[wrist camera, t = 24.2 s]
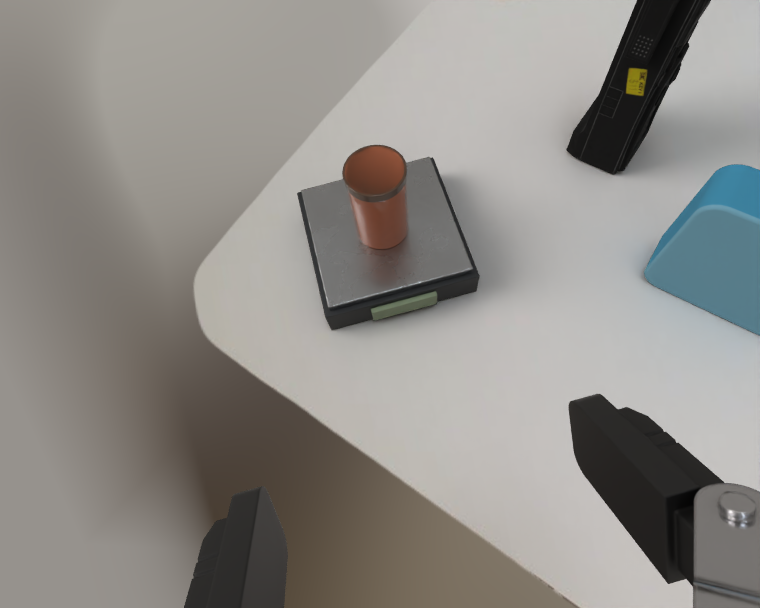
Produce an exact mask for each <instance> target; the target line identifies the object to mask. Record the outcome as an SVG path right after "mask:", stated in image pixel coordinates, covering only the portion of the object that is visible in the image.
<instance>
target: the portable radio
mask: <svg viewBox="0 0 760 608" xmlns="http://www.w3.org/2000/svg"><path fill="white" fill-rule="evenodd" d="M710 1H711V0H637V2H636V4H635V7H634V9H633V12H632V14H631V17H630V19H629V22H628V24H627V27H626V29H625V32H624V34H623V37H622V39H621V41H620V44H619V46H618V49H617V51H616V54H615V56H614V59H613V61H612V64H611V66H610V69H609V71H608V74H607V76H606V78H605V81H604V83H603V86H602V88H601V91H600V93H599V95H598V97H597V98H596V100H595V101H594V102H593V104H592V105H591V107H590V108H589V110H588V111H587V112H586V114H585V115H584V117H583V118H582V120H581V121H580V123H579V124H578V125H577V127H576V128H575V130H574V131H573V134H572V137H571V139H570V142H569V145H568V147H567V151H568V152H569V153H570V154H571V155H572V156H574V157H576V158H578V159H579V160H581V161H584V162H586V163H588V164H590V165H593V166H595V167H597V168H600V169H602V170H604V171H607V172H609V173H611V174H615V173H617V172H618V171H623V170H624V169H625V168H626V166H627V165H628V163H629V162H630V160H631V159H632V157H633V156H634V154H635V152H636V151H637V149H638V148H639V146H640V144H641V143H642V141H643V139H644V138H645V136H646V134H647V133H648V131H649V128H650V126H651V124H652V121H653V119H654V117H655V114H656V112H657V110H658V108H659V106H660V104H661V102H662V100H663V98H664V95H665V93H666V91H667V89H668V87H669V85H670V84H671V83H672V82H673V81H674V80H675V79H676V77H677V75H678V73H679V70H680V66H681V62H682V60H683V58H684V56H685V54H686V52H687V50H688V48H689V43H688V41H689V39H690V37H691V35H692V33H693V31H694V29H695V27H696V25H697V23H698V20H699V18H700V17H701V15H702V14H703V12H704V11H705V9H706V8H707V6H708V5H709V3H710Z"/></svg>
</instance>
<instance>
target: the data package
mask: <svg viewBox="0 0 760 608" xmlns="http://www.w3.org/2000/svg"><path fill="white" fill-rule="evenodd" d="M644 274H645V277H646V279H647V280H648V282H650V283H651V284H652V285H654V286H656V287H658V288H660V289H662V290H664V291H666V292H668V293H670V294H673V295H675V296H677V297H679V298H681V299H683V300H685V301H687V302H690V303H692V304H694V305H696V306H698V307H700V308H702V309H704V310H707V311H709V312H711V313H713V314H715V315H717V316H719V317H721V318H724V319H726V320H728V321H730V322H732V323H734V324H736V325H739V326H741V327H743V328H745V329H747V330H749V331H751V332H753V333H756V334H758V335H760V170H758V169H755V168H753V167H750V166H746V165H738V164H737V165H728V166H725V167H722V168H720V169H719V170H717V171H716V172H715V173H714V174H713V175H712V176H711V178H710V179H709V180H708V181H707V182H706V184H705V185H704V186H703V187H702V189H701V190H700V191H699V192H698V193H697V195H696V196H695V197H694V198H693V199H692V201H691V202H690V203H689V204H688V206H687V207H686V208H685V209H684V210H683V212H682V213H681V214H680V215H679V217H678V218H677V219H676V220H675V221H674V223H673V224H672V225H671V226H670V227H669V229H668V230H667V231H666V232H665V234H664V235H663V236H662V238H661V240H660V242H659V244H658V246H657V248H656V250H655V251H654V253H653V255H652V257H651V259H650V261H649V263H648V265H647V267H646V269H645V272H644Z"/></svg>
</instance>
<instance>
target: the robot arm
mask: <svg viewBox="0 0 760 608" xmlns="http://www.w3.org/2000/svg"><path fill="white" fill-rule="evenodd" d="M569 415H570V424H571V432H572V440H573V449H574V454H575V457H576V460H577V463H578V465H579V467H580V469H581V471H582V473H583V474H584V475H585V477H586V478H587V479H588V481H589V482H590V483H591V485H592V486H593V487H594V488H595V490H596V491H597V492H598V494H599V495H600V496H601V498H602V499H603V500H604V501H605V503H606V504H607V505H608V507H609V508H610V509H611V510H612V512H613V513H614V514H615V516H616V517H617V518H618V520H619V521H620V522H621V523H622V525H623V526H624V527H625V529H626V530H627V531H628V532H629V534H630V535H631V536H632V538H633V539H634V540H635V542H636V543H637V544H638V545H639V547H640V548H641V549H642V551H643V552H644V553H645V555H646V556H647V557H648V558H649V560H650V561H651V562H652V564H653V565H654V566H655V567H656V569H657V570H658V571H659V573H660V574H661V575H662V577H663V578H664V579H665V580H666V582H667V583H668V584H670V583H673V582H677V581H680V580H684V579H687V580H688V581H689V582H690V584H691V585H692V586H693V608H760V492H759V491H757V490H754V489H752V488H749V487H746V486H743V485H738V484H732V483H724V482H723V481H722V480H721V479H720V478H719V477H717V476H716V475H715V474H714V473H713V472H712V471H710V470H709V469H708V468H707V467H706V466H705V465H703V464H702V463H701V462H700V461H699V460H698V459H697V458H695V457H694V456H693V455H692V454H691V453H690V452H688V451H687V450H686V449H685V448H684V447H683V446H682V445H680V444H679V443H676V441H675V439H673V438H672V437H671V436H670V435H669V434H668V433H667V432H664V431H663V429H662V428H661V427H660V426H658V425H657V424H656V423H655V422H654V421H653V420H652V419H650V418H649V417H648V416H646V415H644V414H642V413H639V412H637V411H635V410H632V409H630V408H628V407H625V408H622V409H616V408H615V407H614V406H613V405H612V404H611V403H610V402H609V401H608V400H607V399H606V398H605V397H604V396H602V395H601V394H595V395H592V396H588V397H584V398H581V399H577V400H574V401H571V402H570V403H569ZM287 559H288V552H287V543H286V538H285V534H284V531H283V528H282V526H281V523H280V521H279V519H278V516H277V514H276V512H275V509H274V506H273V504H272V502H271V499H270V496H269V494H268V492H267V490H266V488H265V487H264V486H261V487H258V488H254V489H251V490H247V491H244V492H240V493H237V494H234V495H233V497H232V500H231V504H230V508H229V513H228V517H227V518H225V519H222V520H218V521H216V522H215V523H214V525H213V526H212V528H211V529H210V531H209V532H208V534H207V535H206V537H205V538H204V540H203V542H202V546H201V549H200V553H199V557H198V563H196V567H195V570H194V574H193V576H194V579H192V581H191V585H190V588H189V592H188V595H187V599H186V602H185V606H184V608H284V599H285V586H286V572H287Z"/></svg>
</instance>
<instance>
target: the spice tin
mask: <svg viewBox="0 0 760 608" xmlns="http://www.w3.org/2000/svg"><path fill="white" fill-rule="evenodd" d="M342 174H343V180H344V184H345V187H346V189H347V191H348V196H349V200H350V204H351V209H352V213H353V217H354V222H355V226H356V230H357V234H358V236H359V238H360V240H361V241H362V242H363V243H364V244H366V245H367V246H369V247H371V248H375V249H388V248H392V247H394V246H396V245H398V244H399V243H400V242H401V241H402V240H403V239H404V238H405V237H406V235H407V232H408V229H409V222H408V203H407V185H406V180H407V165H406V162H405V160H404V158H403V156H402V155H401V154H400V153H399V152H398V151H396V150H395V149H393V148H391V147H388V146H384V145H370V146H366V147H363V148H360V149H358V150H357V151H355V152H354V153H352V154H351V155H350V156H349V157H348V159H347V160H346V162H345V164H344V167H343V172H342Z"/></svg>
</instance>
